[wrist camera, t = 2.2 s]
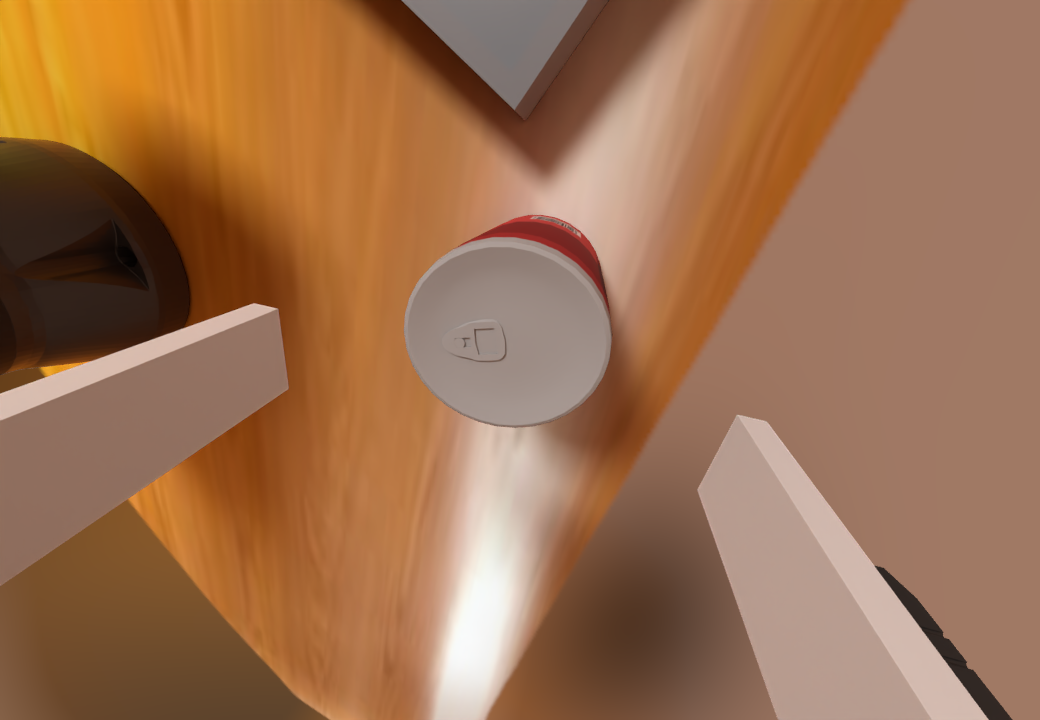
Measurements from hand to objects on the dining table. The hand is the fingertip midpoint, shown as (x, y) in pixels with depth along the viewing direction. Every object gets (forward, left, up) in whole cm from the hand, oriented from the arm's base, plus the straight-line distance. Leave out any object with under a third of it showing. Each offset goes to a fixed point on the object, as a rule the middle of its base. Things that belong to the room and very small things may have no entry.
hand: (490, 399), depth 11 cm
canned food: (0, 0, -15) cm, 15 cm away
